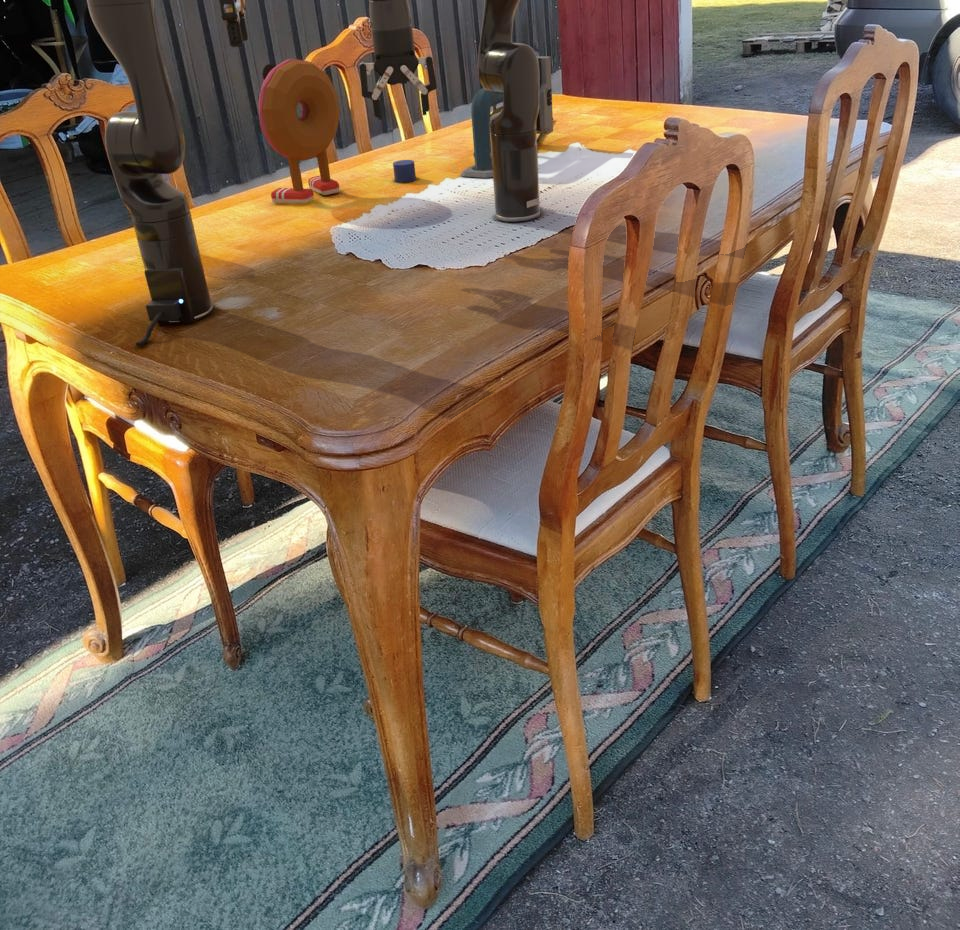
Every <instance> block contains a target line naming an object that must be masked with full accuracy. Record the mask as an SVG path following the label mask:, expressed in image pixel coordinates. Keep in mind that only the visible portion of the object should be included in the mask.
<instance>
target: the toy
mask: <svg viewBox="0 0 960 930" xmlns="http://www.w3.org/2000/svg"><path fill="white" fill-rule="evenodd" d="M261 75H262V79H263V82H262V84H261V87H260V93H259V98H258V103H257V104H258V114H259V124H260V126H259V127H260V128H261V131H262V134H263V136H264V138H265V139H266V141H267V143H268V144H269V147H271V148H272V149H273V150H274V151H275V152H276V153H278V154H279V155H281V156H282V157H284V158H286V159H287V162H288V169H289V175H290V180H291V184H292V187H279V188H276V189H273V190H272V191H271V192H270V197H271V202H272V203H274V204H294V205H295V204H299V205H301V204H302V205H304V204H308V203H310V202H312V201H314V199H315V194H314V192H316V193H318V194H320V195H323V196H329V195H333V194H337V193H339V192H340V190H341V189H340V184H339V181H337V180H335V179H333V178H331V174H330V173H331V172H330V166H329V157H328V151H327V150H328V148H329V146H330V144H331V143H332V141H333V140H334V138H335V136H336V134H337V132H338V125H339V121H340V116H341V112H340V105H339V104H340V103H339V98H338V96H339V95H338V91H337V90H336V88H335V86H334V84H333V82H332V80H331V79H330V76H329V75H328V74H327V73H326V72H324V71H323V70H322V69H321V68H319V67H318V66H317V65H316V64H314V63H312V62H311V61H308V60H303V59H298V58H286V59H285V60H283V61H282V62H280V63H279V64H277V65H276V66H275V65H273V64H272V63H271V64H270V63H268V64H265V65H264V67H263V68H262V73H261ZM299 104H300V105H301V109H302V111H301V116H300V117H299V116H298V114H297V107H298V105H299ZM316 157H317V158H316ZM313 158H316V159H317V165H318V171H319V175H316V176H312V177H310V178H309V179H308V181H307V183H308V188H304V185H303V179H302V173H301V169H300V161H307V160H311V159H313Z"/></svg>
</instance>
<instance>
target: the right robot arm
mask: <svg viewBox="0 0 960 930" xmlns="http://www.w3.org/2000/svg"><path fill="white" fill-rule="evenodd" d="M520 2H521V0H484V1H483V13H482V14H483V15H482V22H481V29H480V30H481V31H480V38H479V46H478V55H477V75H478V80H479V82H480V84H481V86H482V88H485V89H486V90H487V91H490V92H494V93H502V94H503V102H502V106H503V109H502V110H501V111H500V112H499V113H496V114H494V115H492V116H491V118H490V122H489V123H490V139H491V153H492V168H493V177H492V182H493V196H494V197H493V198H494V217H495V219H497V220H498V221H501V222H508V223H519V222H528V221H531V220H534V219H536V218H538V217H540V216H541V207H540V204H541V203H540V181H539V179H540V178H539V160H538V158H539V157H538V144H539V142H540V140H541V139H542V137H543V136H544V134H536V120H537V116H538V113H539V89H540V72H539V63H538V58H537V52H535V50H534V48H533V47H532V46H530V45H528V44H526V43H521V42H513V32H514V31H513V30H514V20H515V16H516V12H517V8H518V6H519V3H520ZM368 3H369V4H368V5H369V6H368V7H369V10H368V12H369V24H370V26H369V27H370V29H371V38H372V45H373V53H374V60H373V62H364V61H361V62H360V63H359V78H360V88H361V89H360V90H361V96H362V97H363V98H367V99H370V100H371V101H372V108H373V116H374V117H375V118H378V121H383V113H382V107H381V99H380V95H381V93H382V91H383V90H384V88H385V87H386V85H390V86H396V85H398V84H401V85H407V83H409V82H411V83H412V84H413V85H414V87H416V89H418V91H419V92H420V93H419V95H420V104H421V112H422V116H427V115H428V114H427V113H428V112H430V101H429V100H430V99H429V93H431V92H432V91H435V90H437V87H438V85H437V78H436V73H435V67H434V61H433V57H432V55H430V54H427V55H425V56H421V57H417V55H416V49H415V41H414V33H413V31H414V30H413V19H412V14H411V13H412V12H411V6H410V3H409V0H368ZM419 65H421V66H422V68H423V69H424V70H426V72H427V77H428V82H429V83H427V84H424V82H423V81H422V80H421V79H420V78H419V77H418V75H416V73H415V72H416V70H417V69H418V67H419ZM372 70H374V71H375V72H376V73H377V75H379V78H378V80H377V82H376V84H375V86H374V88H373V90H370V89H369V85H368V76H370V75H371V73H372ZM537 135H538V136H537Z"/></svg>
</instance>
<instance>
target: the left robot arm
mask: <svg viewBox="0 0 960 930" xmlns="http://www.w3.org/2000/svg"><path fill="white" fill-rule="evenodd" d="M154 1H155V0H86V3H87V8H88V12H89V15H90V18H91V21H92V23H93V25H94V27H95V29H96V31H97V33H98V34H99V35H100V37H101V39H102V41H103V42H104V44H105V45H106V46H107V48H108V49H109V51H110V52H111V54H112V55H113V56H114V58H115V59H116V61H117V62H118V64H119V66H120V67H121V68H122V71H123V72H124V74H125V76H126V78H127V81H128V83H129V86H130V89H131V93H132V96H133V100H134V101H133V102H134V105H135V110H122V111H118V112H115V113H114V114H112V115H111V117H109V119H108V121H107V123H106V126H105V130H104V144H105V150H106V155H107V159H108V162H109V165H110V168H111V171H112V175H113V178H114V181H115V185H116V187H117V190H118V193H119V196H120V199H121V201H122V203H123V204H124V206H125V207H126V208H127V210H128V212H129V214H130V218H131V221H132V225H133V229H134V233H135V237H136V240H137V245H138V248H139V253H140V256H141V260H142V264H143V267H144V271H143V272H144V276H145V280H146V283H147V284H146V285H147V288H148V293H149V297H150V301H149V302H148V303H147V304H145V309H146V313H147V316H148V320H149V322H150V323H149V325H148V328H147V329H146V332H145V335H144V337H143V338H142V339H140V340H138V341H137V342H136V343H135V345H136V346H137V347H142V346H143V345H145V344H147V342H148V341H149V339H150V338H151V335H152V332H153V329H154V328H155V326H156V325H188V324H189V325H192V324H194V323H195V322H196V321H199V320H201V319H203V318H206V317H207V316H209V315H211V314H212V312H213V311H214V307H213V303H212V301H211V296H210V292H209V287H208V284H207V279H206V274H205V270H204V265H203V262H202V261H203V260H202V257H201V252H200V248H199V244H198V239H197V235H196V231H195V225H194V221H193V218H192V213H191V209H190V205H189V204H190V203H189V200H188V197H187V195H186V193H184V192H183V191H182V190H181V189H179V188H177V187H175V186H173V184H171V185H170V184H169V183H168V182H167V181H166V180H165V179H164V178H163V176H162V174H169V175H170V174H174V173H176V172H177V171H179V169H181V167H182V165H183V163H184V161H185V156H186V140H185V139H186V138H185V132H184V127H183V124H182V120H181V117H180V116H181V115H180V113H179V109H178V106H177V103H176V98H175V95H174V91H173V88H172V85H171V82H170V77H169V73H168V69H167V64H166V60H165V55H164V52H163V51H164V50H163V47H162V41H161V36H160V31H159V28H158V27H159V26H158V21H157V15H156V9H155V2H154ZM218 2H219V9H220V12H221V13H220V14H221V19H222V21H223V22H224V24H225V25H226V30H227V36H228V41H229V45H230V47H231V48H239V47H242V46H243V45H244V42H246V41H247V40H248V39H249V34H248V29H247V24H246V23H247V22H246V15H247V14H246V13H247V12H246V11H247V8H246V4H245V0H218Z"/></svg>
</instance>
